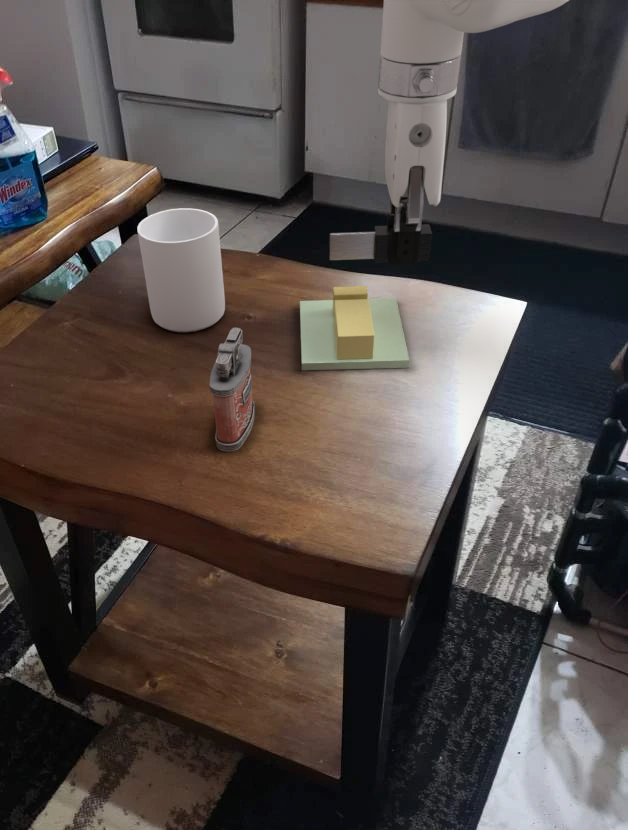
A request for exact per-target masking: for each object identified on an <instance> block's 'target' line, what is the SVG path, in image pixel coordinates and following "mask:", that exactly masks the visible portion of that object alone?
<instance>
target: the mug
mask: <svg viewBox="0 0 628 830" xmlns="http://www.w3.org/2000/svg"><path fill="white" fill-rule="evenodd" d="M136 227H137V237H138V243H139V249H140V256H141V261H142V267H143V274H144V280H145V285H146V292H147V299H148V304H149V310H150V314H151V318H152V320H153V321H154V323H155V324H156V325H158V326H159V327H161V328H162V329H165V330H167V331H169V332H170V331H171V332H174V333H175V332H176V333H193V332H198V331H203V330H205V329H207V328H210V327H212V326H214V325H215V324H216V323H217V322H219V321H220V319H221V318H222V317H223V316H224V314H225V311H226V297H225V286H224V275H223V262H222V252H221V239H220V225H219V219H218V218H217V216H216V215H215V214H213V213H211V212H209V211H207V210H203V209H199V208H193V207H192V208H191V207H189V208H188V207H184V208H183V207H181V208H171V209H170V208H169V209H165V210H161V211H158V212H155V213H152V214H151V215H148V216H147V217H145V218H143V219H141V221H140V222H139V223H138V225H137V226H136Z"/></svg>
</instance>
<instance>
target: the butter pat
mask: <svg viewBox="0 0 628 830" xmlns="http://www.w3.org/2000/svg"><path fill="white" fill-rule="evenodd" d="M367 287H368V286H367V285H354V286H333V287H332V300H333V317H334V301H335V300H359V299H369V297H368V296H369V294H368V293H369V292H368V288H367Z"/></svg>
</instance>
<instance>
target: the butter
mask: <svg viewBox="0 0 628 830" xmlns="http://www.w3.org/2000/svg"><path fill="white" fill-rule="evenodd" d="M369 299H370V298H368V299H359V300H335V301H334V330H335V341H336V352H337V359H369V358H373V350H374V336H375V335H374V329H373V323H372V317H371V311H370V305H369Z"/></svg>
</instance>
